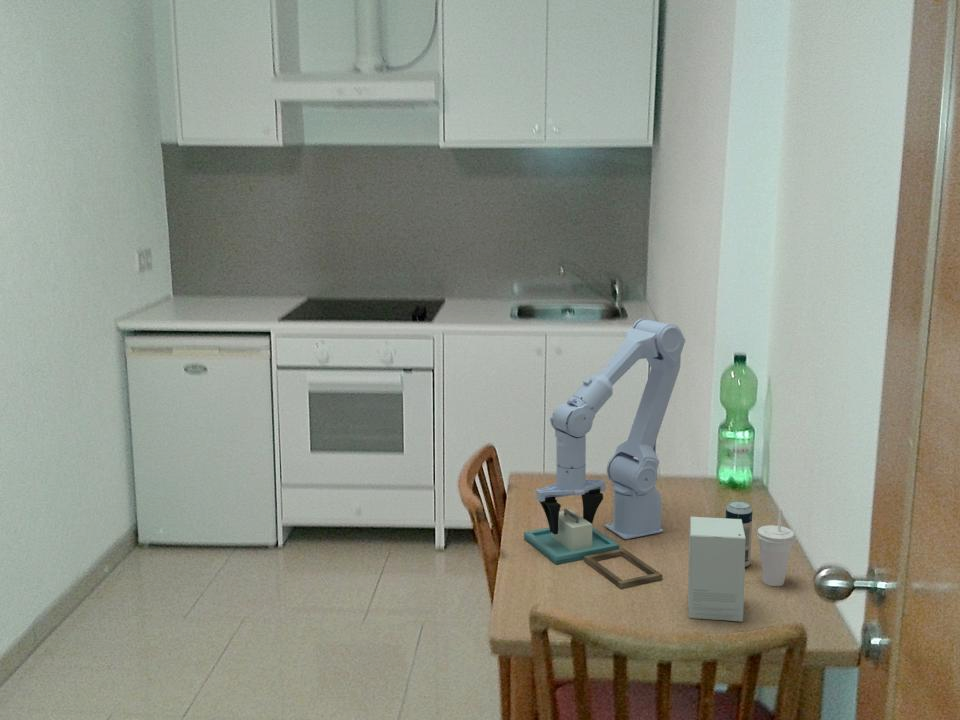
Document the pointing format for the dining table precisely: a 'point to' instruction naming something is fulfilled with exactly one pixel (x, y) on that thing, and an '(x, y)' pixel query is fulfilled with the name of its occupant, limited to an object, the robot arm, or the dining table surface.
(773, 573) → the smoothie
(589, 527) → the white block with handle
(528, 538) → the tray
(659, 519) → the robot arm
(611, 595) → the dining table surface
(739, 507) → the beer can
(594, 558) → the brown flat rectangular frame
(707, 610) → the supplement box
